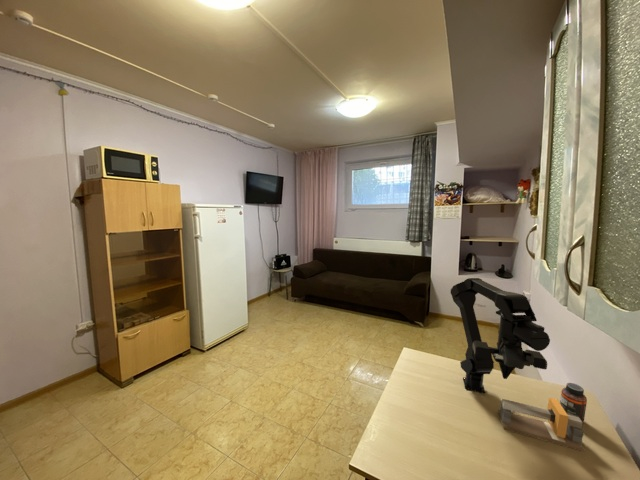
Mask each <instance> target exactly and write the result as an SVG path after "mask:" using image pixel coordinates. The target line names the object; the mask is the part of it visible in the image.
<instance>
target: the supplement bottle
mask: <svg viewBox="0 0 640 480" xmlns="http://www.w3.org/2000/svg"><path fill="white" fill-rule="evenodd" d="M584 390H585V389H584V388H583V386H580V385H579V384H577V383H572V382H567V383H566V385H565V387H563V388H562V389H561V393H560V401H559V403H560V404H561V406H562V407H563V409H564V410H565V412H566V413H567V415H572V416H576V417H579V418H580V420H581V421H582V422H583V423H582V425H583V424H584V422H585V415H586V411H587V410H586V409H587V403H588V398H587V396H586V395H585V391H584Z"/></svg>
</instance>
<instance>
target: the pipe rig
mask: <svg viewBox="0 0 640 480" xmlns="http://www.w3.org/2000/svg"><path fill="white" fill-rule="evenodd" d="M497 412H498V413H497V414H498V416H499V419H500V423H501V425H502V429H503V430H506V431H510V432H513V433H516V434H520V435H525V436H527V437H531V438H534V439H538V440H542V441H545V442H548V443H553V444H554V445H555V444H556V445H560V446H563V447H567V448H571V449H575V450H578V451H581V452H584V451H585V447H584V446H583V437H584V436H583V435H584V430H583V429H582V427H583V424H584V423H583V422H582V421H581V420H580V418H579V417H576V416H572V415H568V416H569V417H568V424H567V430H566V436H565V438H562V437H559V436H556V434H555V433H554V431H553V429H552V427H551V425H550V424H549V422H548V420H550V421H551V422H555V416H556V415H555V414H554V412H553V410H549V409H548V410H547V408H542V407H538V406H534V405H530V404H526V403H521V402H519V401H518V402H517V401H513V400H509V399H506V398H501V402H500V406H499V409H498V410H497ZM513 412H515V413H513ZM517 413H519V414H517ZM521 414H523V415H521ZM524 415H527V416H530V417H527V416H524ZM531 417H534V418H531ZM535 418H538V419H535ZM539 419H542V420H539ZM543 420H545V421H543ZM546 420H547V421H546ZM582 423H583V424H582Z"/></svg>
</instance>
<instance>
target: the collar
mask: <svg viewBox="0 0 640 480" xmlns="http://www.w3.org/2000/svg"><path fill="white" fill-rule="evenodd" d="M546 409H547V410H548V409H549V410H553V412H554V414H555V415H556V416H555V422H551V421H550V420H547V422H548V423H549V424H550V425H551V427H552V429H553V431H554V433H555V434H556V436H559V437H562V438H565V436H566V430H567V424H568V417H569V416H568V415H567V413H566V412H565V410H564V409H563V407H562V406H561V404H560V401H559V400H558V398H557V399H556V398H553V397H549V398H548V403H547V408H546Z"/></svg>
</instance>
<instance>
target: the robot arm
mask: <svg viewBox="0 0 640 480" xmlns="http://www.w3.org/2000/svg"><path fill="white" fill-rule="evenodd" d="M478 294H480V295H482V296H483V297H485V298H486V299H488V300H490V301H492V302H493V304H494V306H495V307H496V308H497V309H498V310H495V314H496V315H498V316H500V317H499V318H500V319H499V326H498V330H497V334H498V336H497V342H496V347H492V346H489V345H488V342H485V341H482V340H483V339H482V336H481V332H480V329H479V324H478V320H477V317H476V316H477V315H476V313H475V309H474V306H475V303H476V300H477V297H476V295H478ZM450 295H451V297H452V301H453V302H454V304H455V305H457V307H458V308H459V311H460V316H461V322H462V324H463V325H462V326H463V330H464V333H465V339H466V342H467V349H466V352H465V355H464V356H465V359H464V360H462V361H460V362H459V363H460V368H461V369H462V371H464V372H465V377H464V376H463V377H462V381H463V385H464V389H465V390H470V391H473V392H478V393H481V394H485V393H486V391H485V387H484V384H483V383H484V375H491V373H492V371H493V370H494V367H495V366H494V365H495V362H497V363H498V364H499V368H500V372H501V375H502V378H503V380H504V379H505V380H507V379H508V377H510V375H511V373H512V372H513V371H514V370H515V369H519V370H524V368H525V367H526V366H527V367H531V366H532V367H533V368H535V369H540V370H547V369H548V361H547V359H546V357H544V355H543V354H542V353H541V351H544V350H545V349H547V348H548V347H549V344H550V341H551V339H550V336H549V334H548V333H547V332H546V331H545V328H546V327H544V326H542V325H540V324H537V323H536V322H537V321H538V320H537V317H536V314H535V312H534V311H533V309H532V306H531V303H530V301H529V300H528V297H527V296H526V295H524V294H522V293H517V292H512V291H505V290H503V289H501V288H499V287H496V286H495V285H492V284H491V283H488V282H487V281H485V280H483V279H482V278H480V277H469V278H466V279H465V280H463V281H461V282H459V283H456V284H455V285H453V286H452V287H451V288H450ZM522 343H523V344H525V345H526V346H527V347H529V348H531V349H525V350H523V348H522V345H523V344H522ZM532 349H533V350H532ZM464 378H465V379H464Z"/></svg>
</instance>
